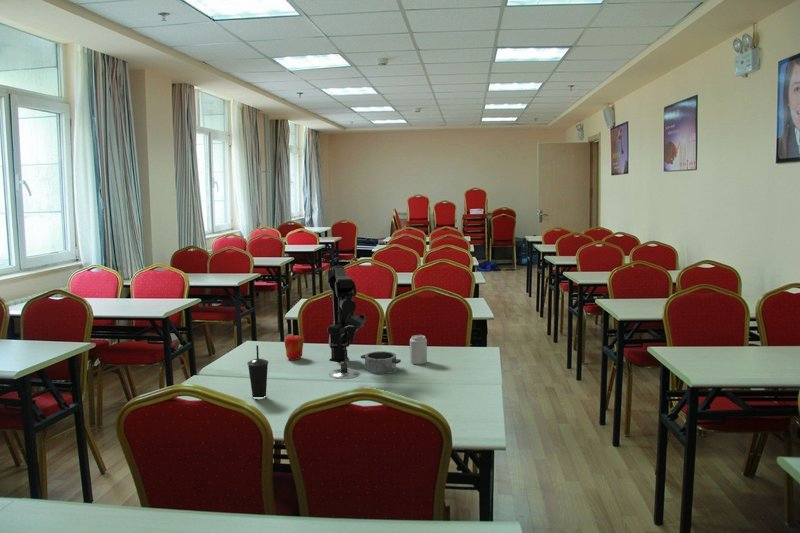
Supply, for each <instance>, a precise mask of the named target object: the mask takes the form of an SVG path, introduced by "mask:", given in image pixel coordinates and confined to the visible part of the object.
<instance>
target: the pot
mask: <svg viewBox="0 0 800 533" xmlns="http://www.w3.org/2000/svg"><path fill="white" fill-rule="evenodd" d="M360 359H362V360H364V370H365V372H367V373H369V374H374V375H375V374H376V375H385V374H390V373H394V372H396V371H397V364H400V363H401V362H402V360H401V359H397V354H396V353H395V352H391V351H386V350H385V351H381V350H380V351H370V352H368V353H365V354H362V355H360Z"/></svg>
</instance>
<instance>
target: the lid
mask: <svg viewBox="0 0 800 533" xmlns="http://www.w3.org/2000/svg"><path fill="white" fill-rule="evenodd" d="M359 375H360V371H359V370H357V369H354V368H348V361H342V362H340V368H338V369H334V370H331V371H330V372H329V373H328V376H329V377H330V378H332V377H333V379H340V380H347V379H353V378H356V377H358V376H359Z"/></svg>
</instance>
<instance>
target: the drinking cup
mask: <svg viewBox="0 0 800 533" xmlns="http://www.w3.org/2000/svg"><path fill="white" fill-rule="evenodd" d="M259 356H260V355H259V345H256V358H254V359H251V360H248V361H247V366H248V373H249V380H250V387H251V388H250V389H251V394H252V398H253V397H264V396H266V397H267V385H268V383H267V382H268V366H269V361H268V360H266V359H265V358H259Z"/></svg>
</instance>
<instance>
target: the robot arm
mask: <svg viewBox="0 0 800 533" xmlns="http://www.w3.org/2000/svg"><path fill="white" fill-rule="evenodd" d="M326 274H327V275H326V283H327V284H328V287H329V290H330V291H331V293H332V294H331V296H332V313H333V324H330V325H328V326H327V328H326V329H327V334H328V333H329V335H328V336H329V338H328V347H329V348H330V350H331V353H330V354H331V355H330V356H331V358H329V361H333V362H339V363H341V362H345V361H347V360H348V359H349V357H348V348H349V347H350V344H354V341H355V338H356V335H357V331H358V330H359V329H361V328H364V326H365V324H366V323H367V316H366V315H365V314H363V313H362V314H360V315H356V312H355V310H356V308H357V305H356V304H357V303H356V302H355V301H354V300H353V297H357V292H358V291H357V285H356V283H355V281H354V280H353V278H352V277H351V276H348V275H347V270H345V266H343V265H334V266H332V268H331V269H330V270H328V271H327V273H326Z"/></svg>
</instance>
